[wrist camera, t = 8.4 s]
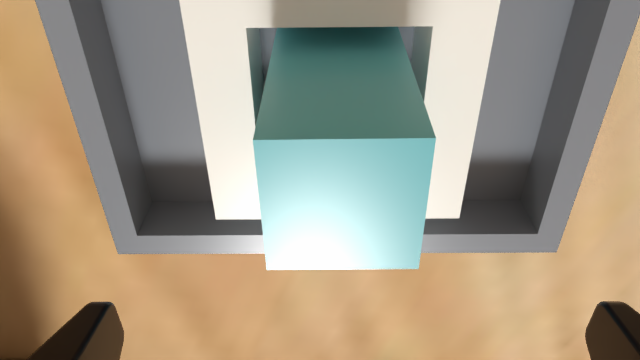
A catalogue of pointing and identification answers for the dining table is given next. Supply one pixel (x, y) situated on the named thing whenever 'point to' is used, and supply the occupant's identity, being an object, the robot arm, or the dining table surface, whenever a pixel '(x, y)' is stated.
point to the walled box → (179, 97)
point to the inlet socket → (335, 11)
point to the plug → (342, 151)
